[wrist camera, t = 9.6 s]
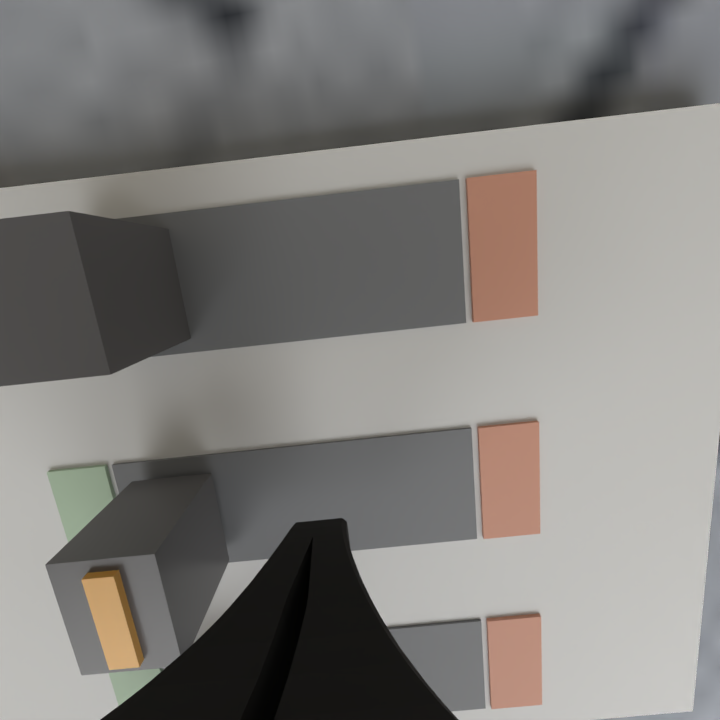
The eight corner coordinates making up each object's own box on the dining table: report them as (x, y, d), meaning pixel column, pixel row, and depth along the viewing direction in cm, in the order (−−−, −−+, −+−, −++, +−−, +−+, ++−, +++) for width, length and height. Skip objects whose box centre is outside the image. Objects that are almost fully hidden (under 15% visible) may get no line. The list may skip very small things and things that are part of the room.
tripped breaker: (229, 560, 13) (179, 674, 9) (154, 567, 13) (75, 684, 9) (211, 473, 12) (149, 560, 9) (131, 481, 12) (37, 571, 9)
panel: (663, 671, 16) (809, 867, 11) (26, 727, 17) (-127, 940, 12) (703, 119, 12) (984, 2, 7) (-167, 221, 13) (-558, 190, 7)
